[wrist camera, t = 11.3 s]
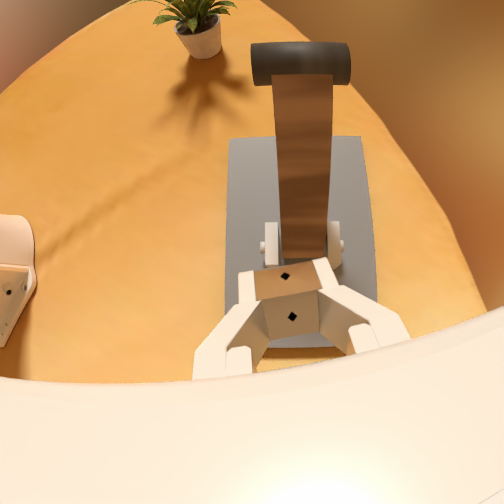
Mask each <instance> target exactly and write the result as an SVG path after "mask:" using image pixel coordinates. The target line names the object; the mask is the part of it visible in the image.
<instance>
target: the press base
mask: <svg viewBox="0 0 504 504" xmlns="http://www.w3.org/2000/svg"><path fill="white" fill-rule="evenodd" d="M324 257H326V258H327V259H328V261H329V263H330V266H331V268H332V270H333V272H334V275H335V277H336V279H337V281H338V284H339V286H340V285H345V286H346V287H348V288H350V289H352V290H354V291H356V292H358V293H360V294H361V295H363V296H365V297H367V298H369V299H371V300H373V301H374V302H376V303H377V280H376V261H375V246H374V234H373V223H372V213H371V204H370V196H369V188H368V180H367V173H366V166H365V160H364V154H363V148H362V142H361V136H332V148H331V170H330V188H329V202H328V216H327V228H326V239H325V250H324ZM314 259H319V258H282V250H281V225H280V203H279V183H278V165H277V149H276V136H272V137H251V138H236V139H229V159H228V185H227V218H226V260H225V315H226V314H227V313H228V312H229V311H230V309H231V308H232V307H233V306H234V305H235V304H239V295H238V274H239V273H240V272H246V271H252V270H253V271H254V270H258V269H265V268H271V267H278V266H286V265H291V264H296V263H301V262H306V261H311V260H314ZM333 346H335V345H334V344H333V343H331V342H330V341H329V340H328V339H327V338H326V337H324V336H323V335H322V334H321V333H320V332H315V333H309V334H303V335H297V336H291V337H286V338H282V339H276V340H271V341H270V343H269V345H268V347H267V348H300V347H333Z"/></svg>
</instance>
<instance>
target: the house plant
mask: <svg viewBox="0 0 504 504" xmlns="http://www.w3.org/2000/svg"><path fill="white" fill-rule="evenodd" d="M138 1H145V0H138ZM138 1H135V2H138ZM148 1H154V0H148ZM165 1H167V2H169V3H168V4H167V5H166V8H165V9H164V10H169V11H171V12H173V13H175V14H176V15H177V16H179V17H177V16H171V15H160V16H158V17H156V19H155V20H154V22H153V24H157V25H159V24H161V23H164V22H166V21H169V20H177V21H178V22H177V23H176V25H175V28H174V31H175V33H176V34H177V36H178V37H179V38H180V40H181V41H182V43H183V44H184V46H185V47H186V49H187V50H188V51H189V53H190V54H191V56H192V57H193V58H196V59H207V58H210V57H213V56H215V55H216V54H217V53H219V51H220V50H221V28H220V16H219V15H218V14H229V13H228V11H227V9H229V8H227V7H224V6H222V7H219V8H215V9H212V10H209V8H210V9H211V8H212V7H214V6H217V5H226V6H233V7H236V6H235V4H234V3H232V2H230V1H219V2H216V3H214V1H215V0H184V2H183V1H182V0H165ZM135 2H132V3H135ZM155 2H157V1H155ZM132 3H130V4H132ZM158 3H160V2H158ZM213 3H214V4H213ZM161 4H162V3H161ZM170 4H172V5H173V6H174V7H175V8H177V9H178V10H179V11H180V12H181V14H182V15H181V14H180V12H179V11H178V12H177V10H175V9H173V8H171V7H170V8H167V7H169V5H170ZM212 4H213V5H212ZM128 5H129V4H128ZM164 5H165V4H164ZM211 5H212V6H211ZM236 8H237V7H236ZM208 10H209V11H208ZM161 11H162V10H161ZM161 11H160V12H161ZM160 12H159V14H160ZM229 15H230V14H229ZM184 16H185V17H184ZM230 16H231V15H230Z"/></svg>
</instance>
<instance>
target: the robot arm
mask: <svg viewBox="0 0 504 504" xmlns="http://www.w3.org/2000/svg"><path fill="white" fill-rule="evenodd" d="M33 259H34V240H33V234H32V230H31V227H30V225H29V223H28V221H27V220H26V219H25V218H24V217H22V216H20V215H4V214H0V347H4V346H5V344H6V342H7V340H8V338H9V336H10V334H11V332H12V330H13V328H14V326H15V324H16V322H17V320H18V318H19V316H20V314H21V312H22V311H23V309H24V307H25V305H26V303H27V302H28V300H29V298H30V296H31V295H32V293H33V291H34V289H35V287H36V283H37V281H36V274H35V270H34V264H33ZM238 295H239V304H235V305H234V306H233V307H232V308H231V309H230V311H229V312H228V313H227V314H226V315H225V317H224V318H223V319H222V320H221V321H220V322H219V324H218V325H217V326H216V327H215V328H214V330H213V331H212V332H211V333H210V334H209V335H208V337H207V338H206V339H205V340H204V341H203V342H202V344H201V345H200V346H199V347H198V348H197V349H196V351H195V356H194V366H193V376H192V380H185V381H170V382H151V383H67V382H49V381H36V380H25V379H15V378H7V377H0V504H504V306H502V307H500V308H497V309H495V310H492V311H490V312H487V313H484V314H482V315H479V316H477V317H474V318H472V319H469V320H466V321H463V322H461V323H458V324H455V325H452V326H449V327H447V328H444V329H441V330H438V331H435V332H432V333H429V334H426V335H422V336H419V337H416V338H413V339H411V338H410V336H409V334H408V332H407V330H406V328H405V326H404V324H403V323H402V321H401V319H400V317H399V315H398V314H397V313H395V312H393V311H391V310H389V309H387V308H386V307H384V306H382V305H380V304H378V303H376V302H374V301H373V300H371V299H369V298H367V297H365V296H363V295H361V294H360V293H358V292H356V291H354V290H352V289H350V288H348V287H346V286H345V285H340V286H339V284H338V281H337V279H336V277H335V275H334V272H333V270H332V268H331V266H330V263H329V261H328V259H327V258H326V257H323V258H319V259H314V260H311V261H306V262H301V263H296V264H291V265H286V266H278V267H271V268H265V269H258V270H254V271H253V270H252V271H246V272H240V273H239V274H238ZM315 332H320V333H321V334H322V335H323V336H324V337H326V338H327V339H328V340H329V341H330V342H331V343H333V344H334V345H335V346H336V347H337V348H338V349H340V350H341V351H342V352H343V353H344V354H345V355H346V356H344V357H339V358H335V359H330V360H325V361H320V362H315V363H310V364H305V365H300V366H294V367H289V368H283V369H277V370H271V371H264V372H257V369H256V367H257V365H258V364H259V362H260V360H261V358H262V356H263V354H264V353H265V351H266V349H267V347H268V345H269V343H270V341H271V340H276V339H282V338H286V337H291V336H297V335H303V334H309V333H315Z"/></svg>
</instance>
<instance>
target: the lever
mask: <svg viewBox="0 0 504 504" xmlns="http://www.w3.org/2000/svg"><path fill="white" fill-rule="evenodd" d="M251 65H252V74H253V81H254V85H255V86H266V85H272V90H273V104H274V118H275V133H276V149H277V165H278V183H279V203H280V225H281V250H282V258H323V257H324V250H325V239H326V228H327V216H328V202H329V188H330V170H331V148H332V114H333V85H348V84H349V81H350V76H351V59H350V52H349V48H348V46H347V44H346V43H336V42H335V43H334V42H270V43H254V44H251Z"/></svg>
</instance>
